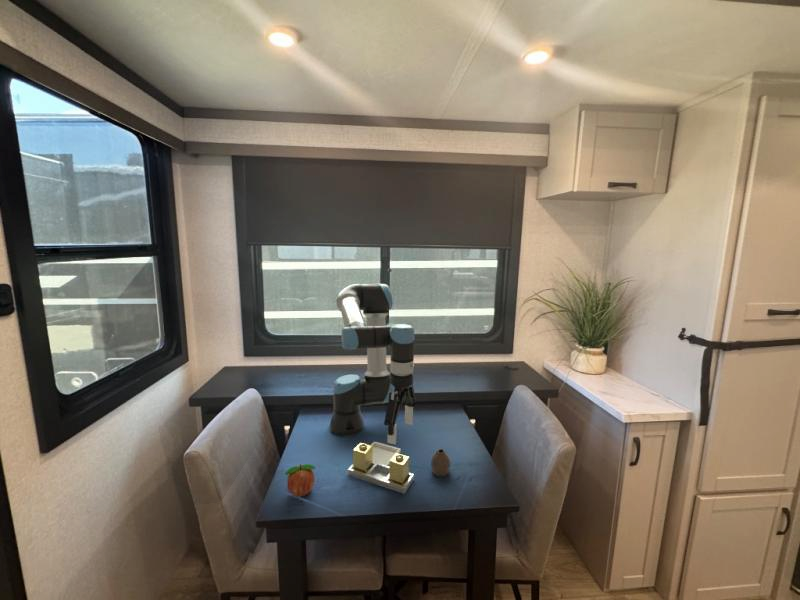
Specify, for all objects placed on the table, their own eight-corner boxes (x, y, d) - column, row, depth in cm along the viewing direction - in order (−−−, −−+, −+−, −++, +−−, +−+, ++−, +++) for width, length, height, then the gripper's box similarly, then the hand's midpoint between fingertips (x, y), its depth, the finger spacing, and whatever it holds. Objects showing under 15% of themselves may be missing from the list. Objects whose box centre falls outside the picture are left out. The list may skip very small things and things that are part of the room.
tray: (358, 461, 130) (358, 456, 130) (374, 445, 141) (374, 441, 140) (387, 470, 125) (387, 465, 125) (400, 453, 136) (400, 448, 135)
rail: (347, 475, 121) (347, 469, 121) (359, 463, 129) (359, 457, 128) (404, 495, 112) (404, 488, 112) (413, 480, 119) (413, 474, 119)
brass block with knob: (353, 473, 122) (353, 448, 121) (360, 465, 127) (360, 441, 125) (365, 477, 120) (365, 451, 119) (372, 469, 125) (372, 444, 123)
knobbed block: (389, 485, 116) (389, 459, 115) (395, 476, 121) (396, 451, 119) (402, 489, 114) (403, 463, 113) (408, 480, 119) (409, 455, 117)
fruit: (315, 500, 109) (314, 471, 108) (284, 504, 107) (283, 474, 106) (316, 482, 118) (315, 455, 116) (287, 485, 116) (286, 458, 114)
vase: (444, 482, 119) (445, 459, 118) (427, 475, 123) (428, 452, 121) (452, 471, 125) (453, 449, 124) (435, 465, 128) (436, 443, 127)
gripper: (395, 387, 99) (394, 455, 102) (426, 363, 122) (424, 419, 125) (373, 383, 102) (372, 449, 105) (406, 359, 125) (405, 414, 128)
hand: (400, 433), depth 115 cm, fingers open, 13 cm apart
